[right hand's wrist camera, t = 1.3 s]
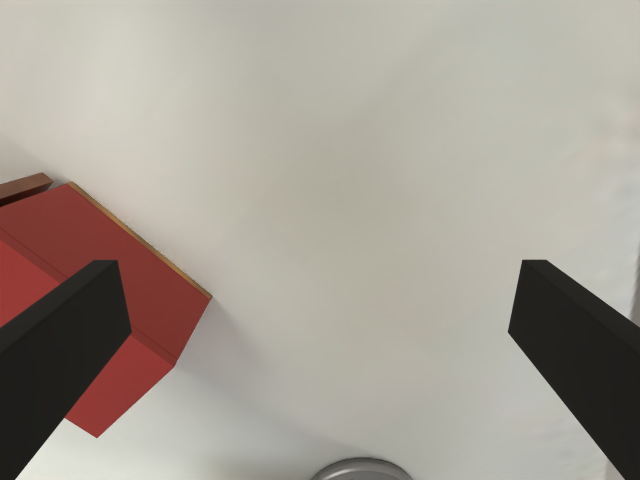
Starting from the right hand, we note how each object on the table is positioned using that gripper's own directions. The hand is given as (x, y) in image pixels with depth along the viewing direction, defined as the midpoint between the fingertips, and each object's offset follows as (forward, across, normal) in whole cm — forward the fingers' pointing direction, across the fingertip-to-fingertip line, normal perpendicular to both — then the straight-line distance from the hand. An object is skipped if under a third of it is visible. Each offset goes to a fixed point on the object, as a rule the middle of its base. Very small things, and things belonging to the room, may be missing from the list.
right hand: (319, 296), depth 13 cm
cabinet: (+25, +21, +11) cm, 35 cm away
